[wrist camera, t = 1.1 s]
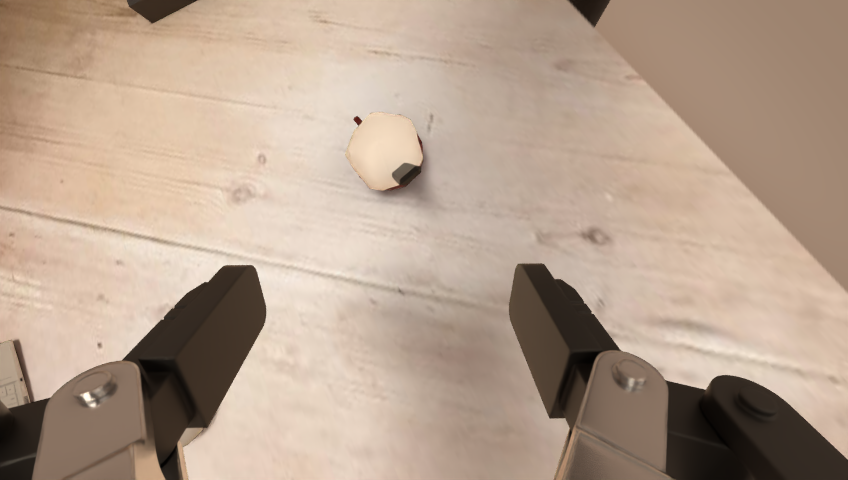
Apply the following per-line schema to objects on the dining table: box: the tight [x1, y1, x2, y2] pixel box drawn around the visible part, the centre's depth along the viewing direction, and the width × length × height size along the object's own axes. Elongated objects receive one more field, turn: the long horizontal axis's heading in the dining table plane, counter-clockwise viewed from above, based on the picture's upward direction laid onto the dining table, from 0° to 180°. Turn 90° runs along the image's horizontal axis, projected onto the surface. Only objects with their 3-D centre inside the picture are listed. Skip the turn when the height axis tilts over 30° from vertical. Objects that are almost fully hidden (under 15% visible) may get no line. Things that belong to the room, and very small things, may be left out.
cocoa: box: [345, 112, 423, 191], centre depth 26 cm, size 10×6×12 cm, turn 18°
